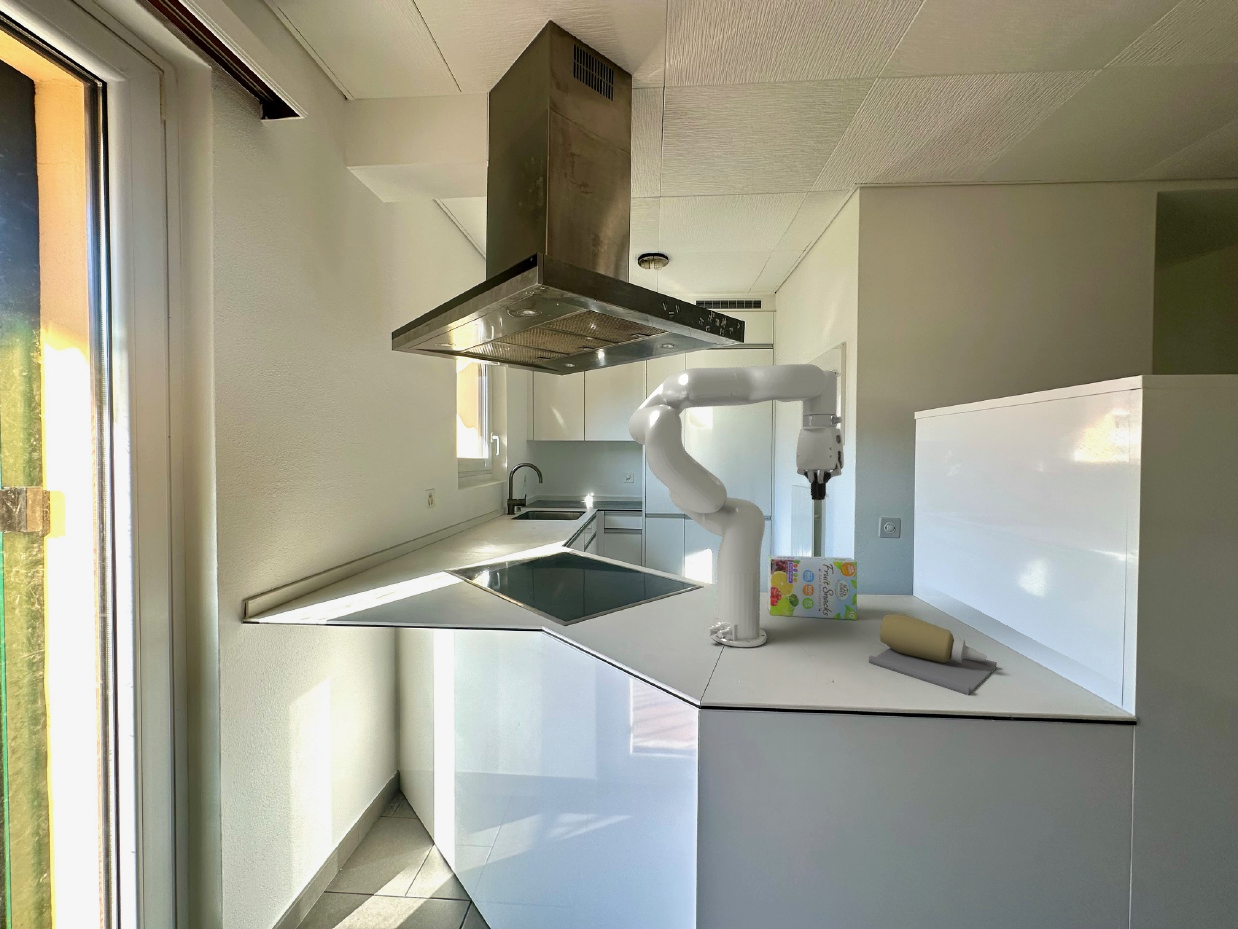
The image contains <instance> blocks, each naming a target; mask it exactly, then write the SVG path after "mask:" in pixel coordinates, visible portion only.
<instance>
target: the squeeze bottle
mask: <svg viewBox="0 0 1238 929" xmlns="http://www.w3.org/2000/svg"><path fill="white" fill-rule="evenodd" d="M879 640H880V642H881V643H883V644H884V645H886V646H887V647H889V649H890V648H892V649H894V650H895V651H897V652H898V653H902V654H907V655H911V656H915V657H920V658H924V659H928V660H933V661H937V662H941V663H946V662H948V661H949V659H950V658H951V660H952V661H954V662H958V663H962V660H963V659H968V660H976V661H984V662H986V660H987V655H986V654H984V653H982V652H980V651H978V650H976V649H974V648H972V647H969V646H968V645H966V640H965V639H962V638H959V637H954V636H953V633H952V631H950V630H949V629H946V628H943V627H940V626H938V625H936V624H932V623H930V622H927V621H924V620H922V619H919V618H916V617H914V616H911V615H908V614H906V613H905V614H904V613H903V614H901V613H900V614H898V613H896V614H895V613H894V614H893V613H891V614H888V613H887V614H885V615H884V617H883V619H882V621H881V624H880V630H879Z"/></svg>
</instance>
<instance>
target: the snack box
mask: <svg viewBox="0 0 1238 929" xmlns="http://www.w3.org/2000/svg"><path fill="white" fill-rule="evenodd" d="M857 601H858V562H857V561H856V560H854V559H853V558H852V557H831V556H804V555H803V556H802V555H801V556H800V555H799V556H798V555H776V554H775V555H772V554H770V555H768V556H767V609H768V612H769V614H770V616H780V617H781V616H784V617H801V618H816V619H820V618H821V619H833V620H834V619H836V620H850V621H851V620H853V621H856V620H857V617H858V616H857V612H858V602H857Z"/></svg>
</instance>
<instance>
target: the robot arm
mask: <svg viewBox="0 0 1238 929" xmlns="http://www.w3.org/2000/svg"><path fill="white" fill-rule="evenodd" d="M837 393H838V376H837V374H836V372H834V371H833V370H827V369H826V370H824V369H823V370H822V368H820V366H818V365H815V364H811V363H800V364H799V363H797V364H795V363H794V364H793V363H790V364H775V365H774V364H773V365H760V366H757V365H756V366H755V365H754V366H741V367H737V366H736V367H735V366H734V367H693V368H692V367H691V368H687V369H683V370H681V371H678V372H676V373H673V374H671V375H668V376H667V377H666V378H665V379H664V381H662V382H661V383H660V384H659V386H657V387H656V388H655V390H653V392H651V394H650V395H649V396H648V397H647V398H645V401H643V402H642V404H640V405H639V406H638V408H637V409H636V410H635V411H634V412H633V414H632V415H631V417H630V418H629V422H628V432H629V435H630V437H631V438H632V439H633V441H635V442H636V443H638V444H640V445H643V446H644V450H645V458H646V461H647V464H648V467H649V469H650V471H651V472H652V474H653V475H654V476H655V477H656V479H657V480H658V481H659V482H661V483H662V484H663V485H664V486H665V487H667V488H668V492H669V497H670V499H671V502H672V503H673V505H675V507H676V508H678V510H680V511H681V512H683V514H685V515H687V516H688V517H689V518H690V519H691V520H693V521H694V522H696V524H698V525H699V526H700V527H702V528H703V529H705V530H707V531H708V532H709V533H712V534H713V535H716V536H719V537H722V538H721V542H720V545H719V549H718V552H717V562H716V563H717V566H716V571H717V576H716V580H717V582H716V585H717V586H716V587H717V588H716V618H714V623H713V624H712V626H707V627H705V628H704V630H703V634H704V636H706V637H707V638H708V637H711V639H713V640H714V641H716V642H717V643H719V644H723V645H726V646H729V647H730V646H731V647H735V648H736V647H737V648H752V647H753V648H755V647H758V646H762V645H763V644H765V643H766V641H767V638H768V635H767V633H766V631H764V629H763V628H760V620H761V619H760V616H761V614H760V612H761V551H762V544H763V539H764V534H765V529H766V519H765V515H764V513H763V511H762V509H761V508H760V507H759V506H758V505H757V504H756V503H754V502H752V501H750V500H747V499H743V498H737V497H729V496H728V492H727V489H726V486H725V484H724V483H723V482H722V481H721V479H720V478H718V477H717V476H716V475H715V474H713V473H712V472H710V470H708V469H707V468H705V467H704V466H703V465H702V464H701V463H699V462H698V460H696V459H695V458H693V456H691V455H690V453H689V452H687V451H686V449H685V446H684V445H683V439H682V438H683V437H682V434H683V432H682V430H683V426H682V419H681V416H680V414H682V412H683V411H684V410H686V409H691V408H704V407H705V408H706V407H729V406H730V407H731V406H745V405H754V404H757V403H758V404H759V403H762V402H768V401H775V400H776V401H778V402H780V403H781V402H782V403H791V402H792V403H793V402H798V401H799V402H802V429H800V430H799V433H798V437H797V438H798V439H797V442H796V444H797V445H796V451H795V452H796V453H795V457H796V458H795V464H796V467H797V471H796V473H797V474H798V475H801V476H803V477H805V478H806V479H807V480H808V482H809V483H810V496H811V500H812V501H824V500H825V498H826V496H827V483H829V481H830V480H831V479H832V478H834V477H839V476H841V475H842V474H843V473H842V469H843V468H844V466H845V458H844V456H845V455H844V443H843V437H842V432H841V428H837V426H838V424H841V423H842V421H843V419H842V417H840V416H839V417H838V415H837V405H838V404H837V403H838V402H837V401H838V400H837V399H838V398H837V397H838V396H837V395H838V394H837Z"/></svg>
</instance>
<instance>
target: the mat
mask: <svg viewBox="0 0 1238 929" xmlns="http://www.w3.org/2000/svg"><path fill="white" fill-rule="evenodd" d="M868 663H869V664H872V665H875V666H878V667H880V668H884V669H888V670H890V671H893V672H895V673H896V672H897V673H899V674H903V675H905V676H908V677H911V678H915V679H918V680H921V681H924V682H926V683H930V684H933V685H937V686H939V687H942V688H944V689H948V690H951V691H955V692H957V693H961V694H965V695H967V694H968V696H969V695H971V693H972V692H973V691H974V690H976V689H977V688H978V687H979V686H980V685H981V684H982V683H983V682H984V681H985V680H986V679H987V678H988V677H989V676H990V675H991V674H992V673H993V672H994V671H995V670H996V669H997V666H998V665H997V662H996V661H992V660H989V659H986V662H984V661H976V660H968V659H963V660H962V663H958V662H954V661H952V660H951V658H950V659H949V661H948V662H946V663H941V662H937V661H933V660H928V659H924V658H920V657H915V656H911V655H907V654H902V653H898V652H897V651H895V650H894V649H892V648H890V647H889V648H888V649H886V650H885V651H883V652H881V653H879V654H877V655H876V656H873V655H869V657H868ZM994 669H995V670H994ZM993 670H994V671H993ZM992 671H993V672H992ZM991 672H992V673H991ZM990 673H991V674H990ZM989 674H990V675H989ZM988 675H989V676H988ZM987 676H988V677H987ZM986 677H987V678H986ZM985 678H986V679H985ZM984 679H985V680H984ZM983 680H984V681H983ZM982 681H983V682H982ZM981 682H982V683H981ZM980 683H981V684H980ZM979 684H980V685H979ZM978 685H979V686H978ZM977 686H978V687H977Z"/></svg>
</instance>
